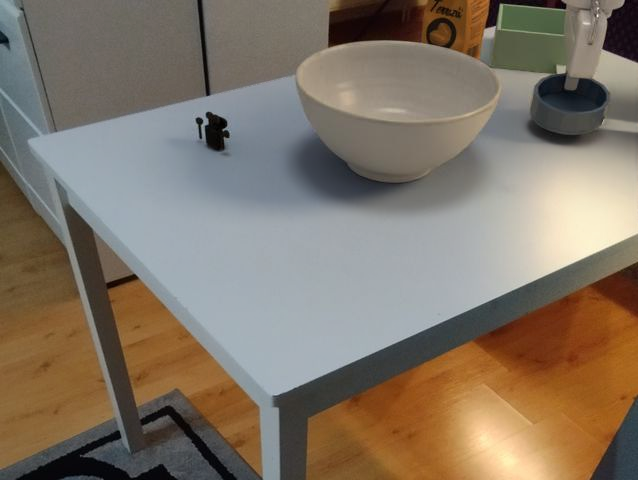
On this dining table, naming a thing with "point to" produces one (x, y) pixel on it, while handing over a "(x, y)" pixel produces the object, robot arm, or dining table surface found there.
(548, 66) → the tub
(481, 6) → the coffee package
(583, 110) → the blue-grey round shallow container
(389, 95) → the decorative bowl
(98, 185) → the dining table surface
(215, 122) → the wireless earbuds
